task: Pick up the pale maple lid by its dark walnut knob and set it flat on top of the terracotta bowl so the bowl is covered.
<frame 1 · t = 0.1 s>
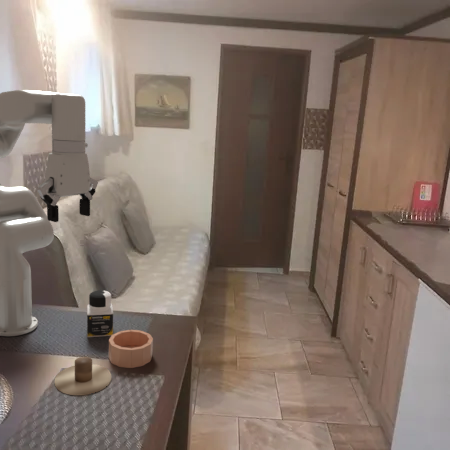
hand: (69, 218, 118), 37 cm above the table, tool pointing down, fingers open, 9 cm apart
medicine bottle: (99, 331, 140), on the table
lid: (83, 380, 115), on the table
bowl: (130, 356, 127), on the table
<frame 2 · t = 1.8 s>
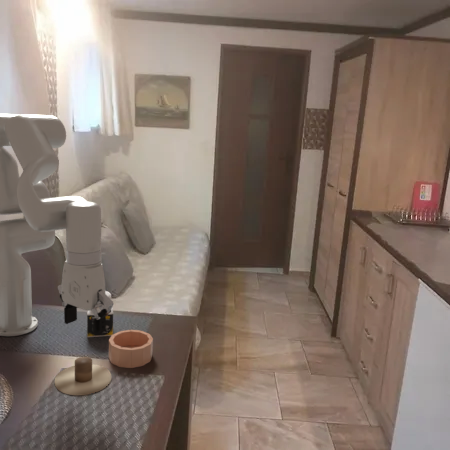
hand: (84, 327, 111), 14 cm above the table, tool pointing down, fingers open, 9 cm apart
nothing on the table moved.
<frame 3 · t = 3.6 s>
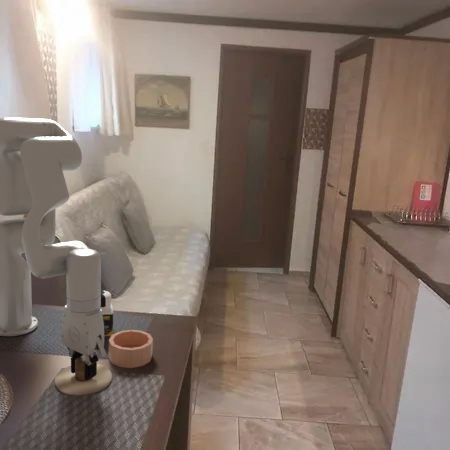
hand: (83, 373, 115), 2 cm above the table, tool pointing down, fingers closed on lid, 4 cm apart
lid: (83, 379, 115), on the table, touching gripper
everything else where it was.
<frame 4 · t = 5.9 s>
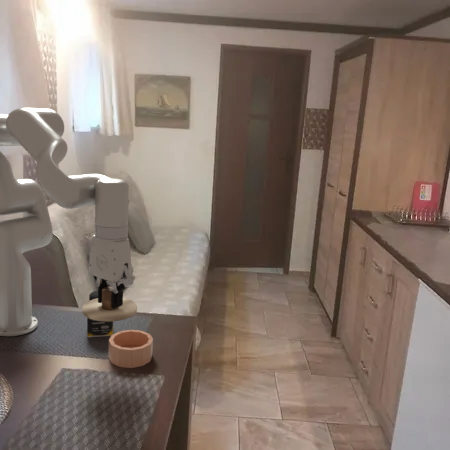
hand: (110, 303, 117), 17 cm above the table, tool pointing down, fingers closed on lid, 4 cm apart
lid: (110, 310, 118), point 16 cm above the table, touching gripper
everything else where it was.
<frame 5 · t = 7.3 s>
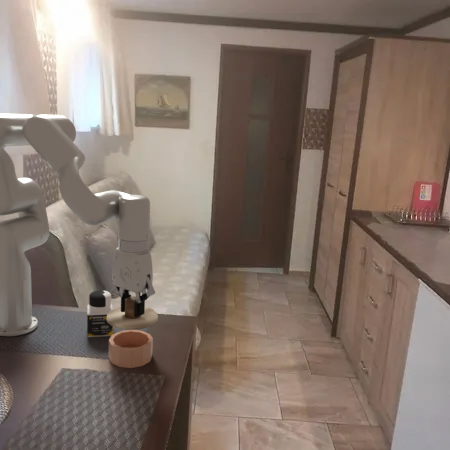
hand: (132, 312, 124), 13 cm above the table, tool pointing down, fingers closed on lid, 4 cm apart
lid: (132, 318, 124), point 11 cm above the table, touching gripper
everything else where it was.
when the fingers open (8 cm above the table, at t = 8.4 s): lid drops 1 cm, resting on bowl.
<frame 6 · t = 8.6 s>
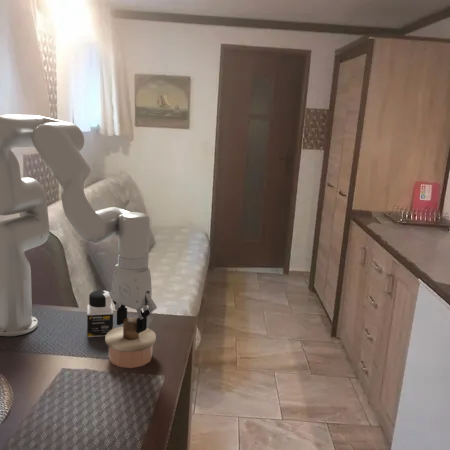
hand: (131, 326, 125), 9 cm above the table, tool pointing down, fingers open, 6 cm apart
lid: (130, 339, 126), point 5 cm above the table, touching bowl
everything else where it was.
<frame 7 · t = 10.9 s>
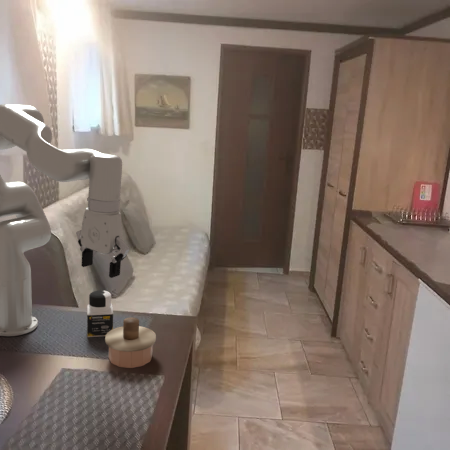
hand: (100, 270, 121), 23 cm above the table, tool pointing down, fingers open, 9 cm apart
nothing on the table moved.
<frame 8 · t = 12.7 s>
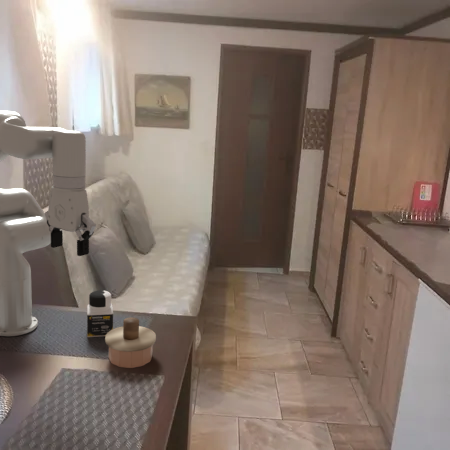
hand: (69, 250, 120), 28 cm above the table, tool pointing down, fingers open, 9 cm apart
nothing on the table moved.
at the end: lid 0.1 cm off-centre on the bowl, point 5.0 cm above the bowl's base; lid tilted 0°; the gripper is holding nothing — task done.
